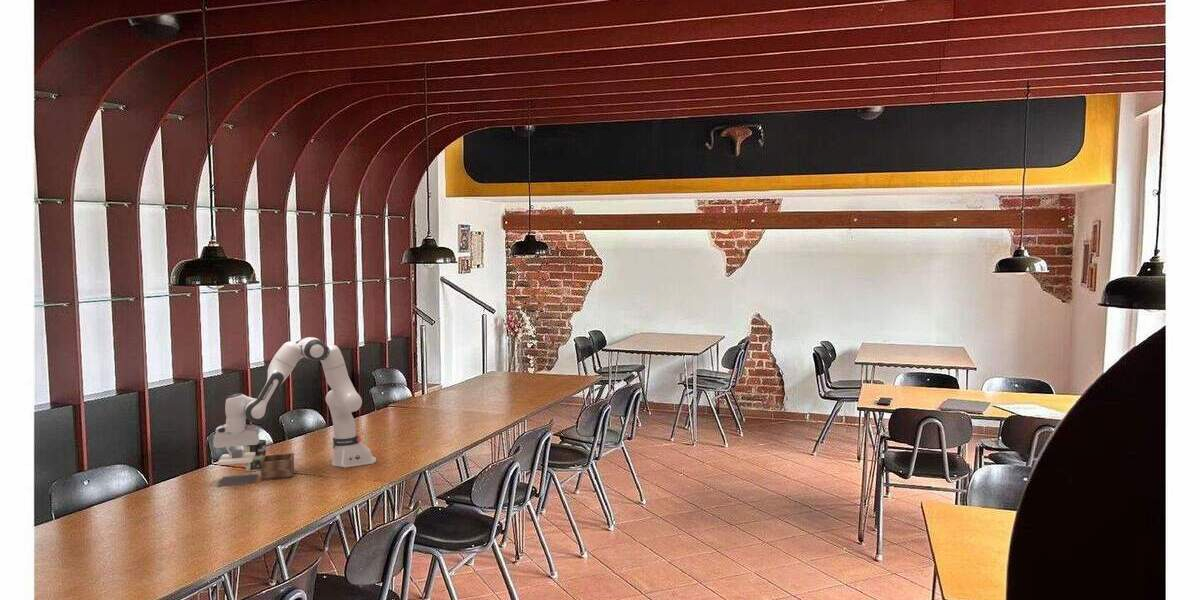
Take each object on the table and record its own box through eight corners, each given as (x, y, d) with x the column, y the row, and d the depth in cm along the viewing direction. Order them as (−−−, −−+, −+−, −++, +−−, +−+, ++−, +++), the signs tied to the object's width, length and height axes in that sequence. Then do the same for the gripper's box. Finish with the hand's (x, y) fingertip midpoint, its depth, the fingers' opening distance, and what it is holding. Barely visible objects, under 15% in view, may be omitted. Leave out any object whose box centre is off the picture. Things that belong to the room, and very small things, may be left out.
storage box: (294, 470, 394) (293, 453, 394) (292, 477, 381) (291, 459, 380) (264, 473, 390) (263, 455, 389) (261, 480, 377) (260, 462, 376)
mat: (257, 474, 388) (257, 473, 388) (254, 483, 373) (254, 482, 373) (222, 477, 383) (222, 476, 383) (217, 486, 368) (217, 485, 368)
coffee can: (271, 466, 403) (270, 439, 402) (258, 471, 393) (257, 444, 392) (253, 465, 405) (252, 439, 404) (241, 470, 395) (239, 443, 394)
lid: (255, 454, 387) (255, 446, 387) (251, 462, 372) (251, 453, 372) (222, 457, 382) (222, 448, 382) (217, 465, 368) (217, 455, 368)
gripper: (259, 424, 383) (260, 451, 383) (214, 427, 376) (215, 455, 377) (258, 426, 377) (259, 454, 377) (212, 430, 370) (213, 458, 371)
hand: (236, 455), depth 377 cm, fingers closed on lid, 4 cm apart
